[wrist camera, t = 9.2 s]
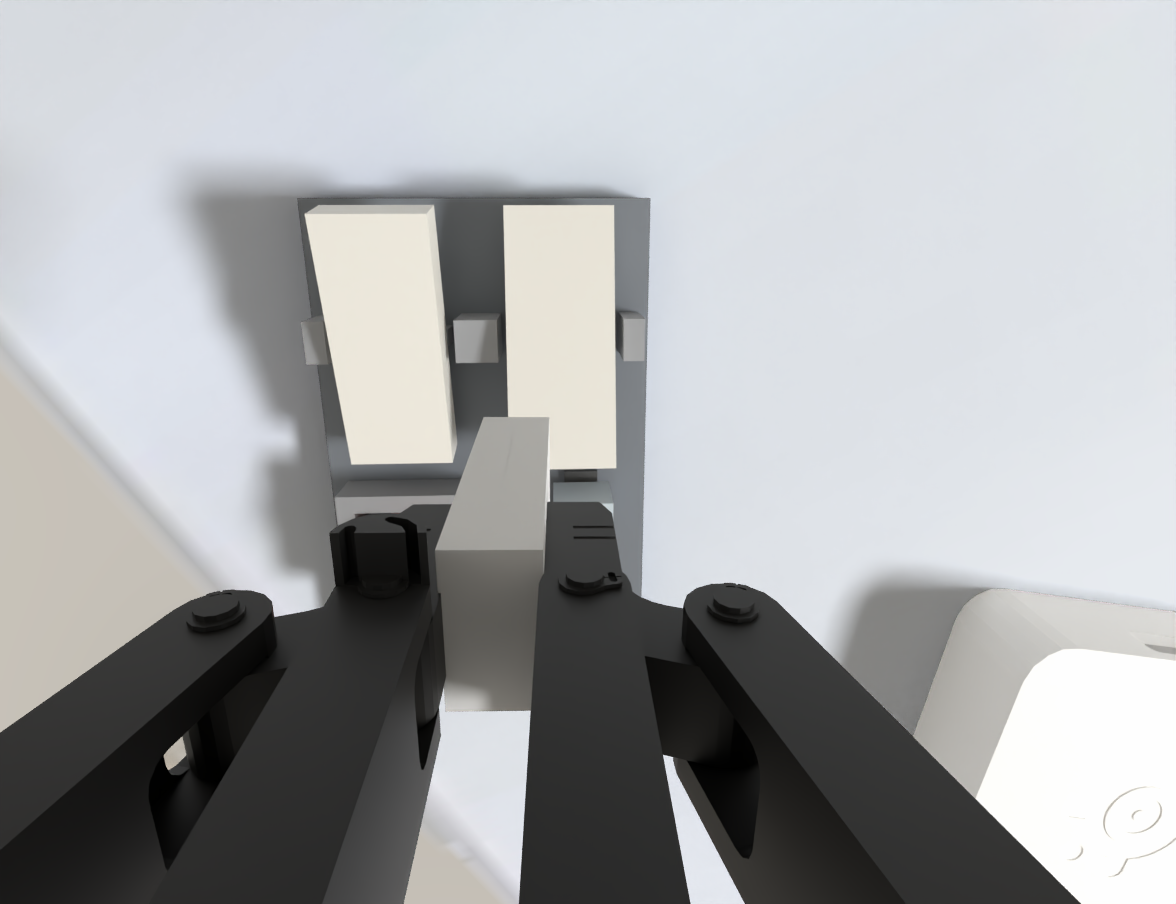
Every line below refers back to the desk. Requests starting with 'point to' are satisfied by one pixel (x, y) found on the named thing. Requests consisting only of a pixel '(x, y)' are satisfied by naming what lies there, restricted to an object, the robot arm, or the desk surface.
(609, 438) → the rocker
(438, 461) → the block
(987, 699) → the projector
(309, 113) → the desk surface
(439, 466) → the panel
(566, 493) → the block
